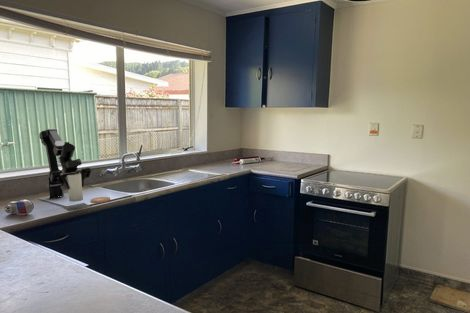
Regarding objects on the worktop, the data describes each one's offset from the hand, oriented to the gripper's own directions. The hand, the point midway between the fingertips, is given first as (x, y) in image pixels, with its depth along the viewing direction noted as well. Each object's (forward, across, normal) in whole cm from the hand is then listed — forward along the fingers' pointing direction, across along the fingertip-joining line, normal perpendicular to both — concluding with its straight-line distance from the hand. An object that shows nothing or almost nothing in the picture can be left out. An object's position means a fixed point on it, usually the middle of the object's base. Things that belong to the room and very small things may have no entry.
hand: (76, 187), depth 171 cm
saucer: (+4, +14, +11) cm, 18 cm away
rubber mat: (+6, 0, +8) cm, 11 cm away
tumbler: (+4, 0, +6) cm, 7 cm away
